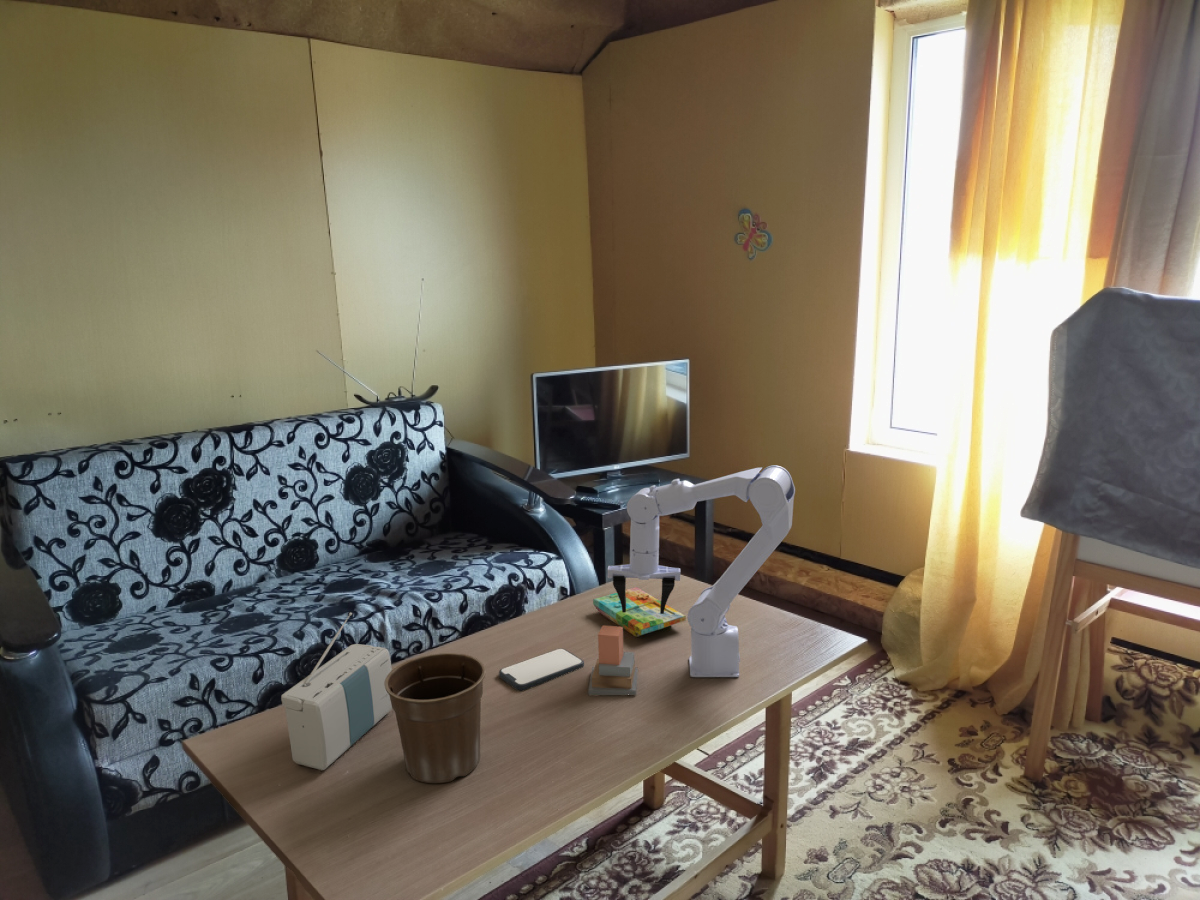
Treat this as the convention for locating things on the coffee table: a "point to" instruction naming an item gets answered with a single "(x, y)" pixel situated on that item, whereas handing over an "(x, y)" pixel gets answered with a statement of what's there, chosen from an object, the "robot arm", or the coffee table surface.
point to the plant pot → (438, 714)
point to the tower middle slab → (611, 679)
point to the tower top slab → (619, 666)
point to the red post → (610, 645)
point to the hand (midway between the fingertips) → (643, 611)
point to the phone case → (540, 669)
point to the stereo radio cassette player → (337, 703)
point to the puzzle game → (637, 612)
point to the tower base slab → (613, 690)
